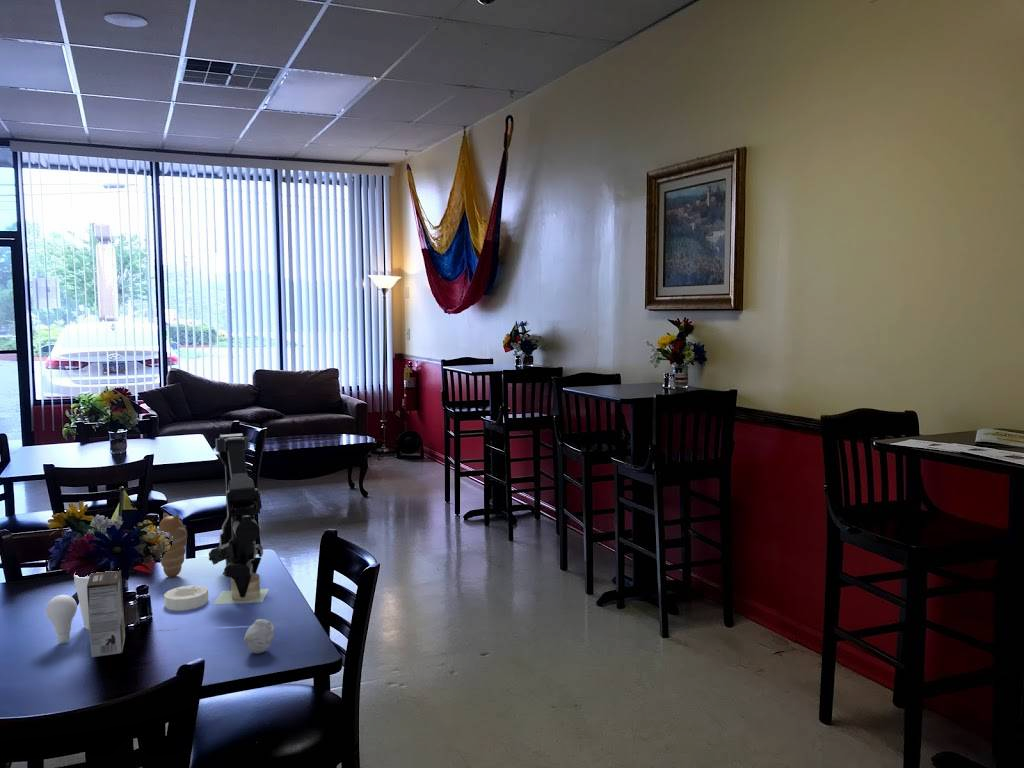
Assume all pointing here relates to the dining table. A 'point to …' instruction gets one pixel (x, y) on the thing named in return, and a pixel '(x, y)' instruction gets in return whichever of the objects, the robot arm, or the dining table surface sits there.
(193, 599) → the bowl
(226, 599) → the mat
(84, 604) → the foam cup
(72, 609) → the lightbulb
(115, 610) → the coffee box
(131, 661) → the dining table surface
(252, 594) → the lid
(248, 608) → the dining table surface
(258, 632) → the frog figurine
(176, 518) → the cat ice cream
